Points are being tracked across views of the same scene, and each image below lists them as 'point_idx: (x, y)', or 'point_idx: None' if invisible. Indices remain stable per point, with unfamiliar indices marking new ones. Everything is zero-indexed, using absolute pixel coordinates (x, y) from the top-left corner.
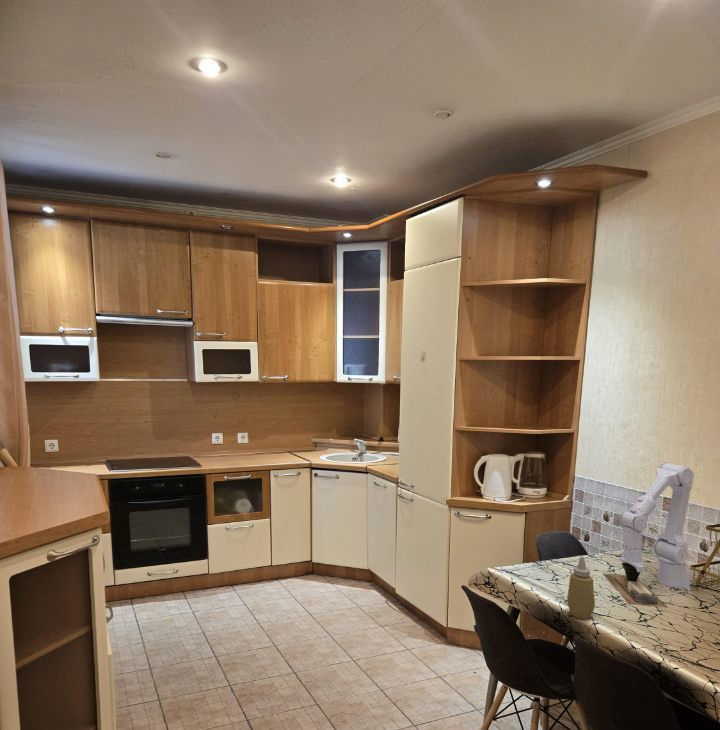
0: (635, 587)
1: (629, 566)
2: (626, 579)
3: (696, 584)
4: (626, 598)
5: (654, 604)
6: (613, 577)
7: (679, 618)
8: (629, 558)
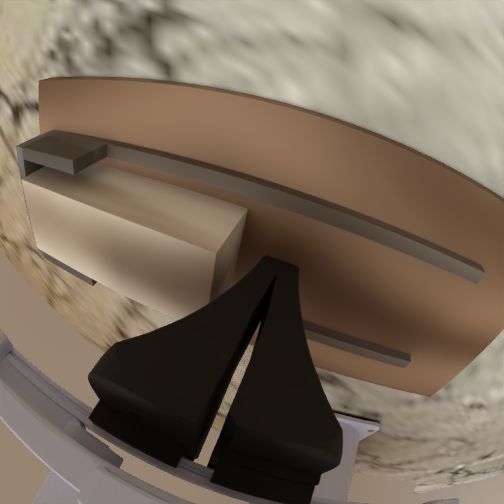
0: (84, 214)
1: (122, 407)
2: (426, 336)
3: None
4: (89, 95)
5: None
6: (492, 277)
7: (31, 237)
8: (40, 498)
